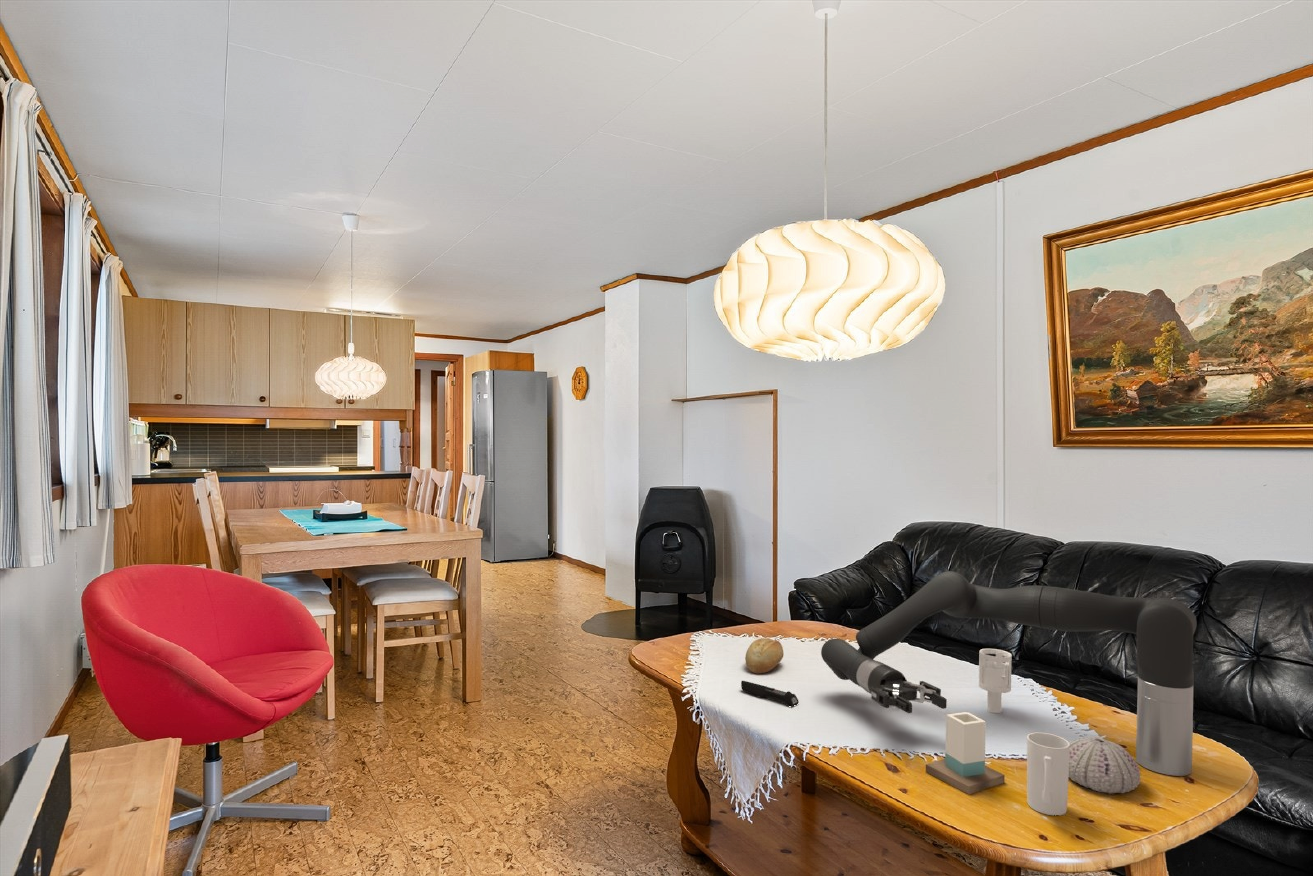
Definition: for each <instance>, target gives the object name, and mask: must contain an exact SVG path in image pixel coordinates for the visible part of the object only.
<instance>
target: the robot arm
mask: <svg viewBox="0 0 1313 876" xmlns="http://www.w3.org/2000/svg"><path fill="white" fill-rule="evenodd" d="M940 612H943V613H944V614H946V615H947V616H950V617H953V618H961V619H983V620H987V619H988V620H995V621H996V620H998V621H1001V622H1008V623H1012V624H1017V625H1023V626H1030V627H1035V628H1040V629H1046V630H1052V631H1053V630H1054V631H1058V632H1059V631H1061V632H1073V633H1074V632H1075V633H1076V632H1084V633H1085V632H1099V631H1100V632H1101V631H1104V632H1105V631H1106V632H1107V631H1113V632H1120V633H1121V632H1123V633H1128V634H1129V633H1130V634H1133V635H1136V665H1137V700H1136V701H1137V702H1136V703H1137V707H1136V708H1137V709H1136V737H1135V738H1136V740H1135V743H1136V745H1135V761H1136V763H1137V764H1138V765H1140V766H1141V767H1143V768H1145V769H1147V770H1149V771H1153V772H1155V773H1159V774H1162V775H1168V776H1175V777H1183V776H1189V775H1191V774H1192V767H1193V741H1194V740H1193V733H1194V732H1193V730H1194V720H1193V719H1194V717H1193V716H1194V715H1193V713H1194V682H1195V681H1194V678H1195V676H1194V675H1195V674H1194V665H1193V662H1194V659H1193V658H1194V634H1195V633H1196V629H1197V627H1198V626H1197V623H1198V622H1197V618H1196V615H1195V613H1194V612H1193V611H1192V610H1191V608H1190V607H1189V606H1188V605H1187V604H1185V603H1183V602H1182V601H1180V600H1177V599H1174V598H1167V597H1132V596H1131V597H1128V596H1127V597H1126V596H1116V595H1115V596H1114V595H1108V594H1102V593H1098V592H1092V591H1086V590H1079V589H1071V588H1067V587H1066V588H1065V587H1057V586H1048V585H1036V584H1035V585H1023V586H1017V587H1011V588H1009V587H1008V588H993V587H987V586H983V585H977V584H973V583H970V582H969V580H968V579H966V578H965V577H964V576H963V575H962V574H961V573H958V572H956V571H952V570H948V571H943V572H940V573H938V574H937V575H935V576H933V578H932V579H930V580H929V581H928V582H927V583H926V584H925V585H923V586H922V587H921V588H920V589H919V590H917V591H916V592H915V593H914V594H912V595H911V596H909V598H908V599H906V600H904V601H903V602H902V603H901V604H900V605H898V606H897V607H896V608H895V609H893V610H891V611H890V612H888V613H887V614H885V615H884V616H882V617H880V618H879V619H877V620H875V621H874V622H872V623H870V624H868V625H867V626H865V627H863V628H862V629H860V630H859V631H857V633H856V634H855V640H856V644H857V645H858V647H859V648H858V649H857V648H855V647H854V646H853V645H851V644H850V643H849V642H847V641H845V640H844V639H842V638H831V639H828V640H827V641H825V643H823V645H822V646H821V649H820V654H821V658H822V660H823V661H824V663H825V664H826V665H827V666H828V668H829V669H830V670H831V671H832V672H833V674H834V675H836V676H837V678H838V679H841V680H842V681H848V680H849V681H851V682H852V683H853V684H854V685H857V686H858V687H860V688H861V689H863V690H864V691H865V692H866V693H868V694H870V695H871V696H870V698H871V700H872V701H874V702H875V703H877V704H879V705H880V706H882V707H883V708H886V709H889V708H890V706H892V708H894V709H899V710H901V711H903V712H905V713H906V714H912V713H913V703H912V702H915V703H918V704H919V703H920V704H923V703H924V702H926V703H931V704H932V705H934V706H936V707H938V708H940V709H942V710H944V709H945V710H946V709H947V705H948V704H947V702H948V701H947V698H946V697H944V696H942V695H941V694H942V689H941V688H940V687H937V686H935V685H933V684H931V683H928V682H926V681H923V680H919V684H915V683H912V682H911V681H908V680H907V678H906V676H905V675H904V674H903V673H902V672H901V671H899V670H897V669H895V668H893V667H891V666H890V665H888V664H886V663H883V662H881V661H878V660H875V658H877V657H878V656H879V655H881V654H883V653H884V652H886V651H888V650H890V649H891V648H894V647H895V646H896V645H898V644H899V643H901V642H902V641H903V640H904V639H906V637H907V636H908V635H909V634H910V633H911V632H912V631H913V629H915V628H916V627H917V626H918V625H919V624H920V623H922V622H923V621H924V620H926V619H927V618H929V617H931V616H934V615H935V614H937V613H940ZM918 692H919V697H918Z"/></svg>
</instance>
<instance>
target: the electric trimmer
mask: <svg viewBox="0 0 1313 876" xmlns="http://www.w3.org/2000/svg"><path fill="white" fill-rule="evenodd" d="M740 686H741V687H740V688H741V691H743V692H745V693H746V692H747V693H748V694H750V695H753V696H755V697H758V698H761V699H769V700H772V701H775V702H779V703H782V704H784V703H785V704H784V705H787V706H794V705H796V706H798V705H799V704H798V703H800V702H799V699H798V697H797V696H796V694H795V693H792V692H791V691H789V690H788V691H784V690H779V689H776V688H773V687H770V686H769V687H768V686H767V685H766V686H765V685H761V684H758V683H755V682H750V681H747V680H741V682H740ZM797 704H798V705H797Z"/></svg>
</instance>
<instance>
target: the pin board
mask: <svg viewBox="0 0 1313 876" xmlns="http://www.w3.org/2000/svg"><path fill="white" fill-rule="evenodd" d="M925 773H927V774H929V775H931V776H933V777H935V778H936V779H939V781H942V782H944V783H946V784H948V785H949V786H952V787H954V789H955V788H956V789H957V790H959V791H961V792H963V793H965V794H968V795H971V794H974V793H977V792H980V791H984V790H987V789H989V788H992V787H995V786H998V785H1001V784H1004V783H1005V782H1006V781H1005V777H1006V776H1005V774H1004V773H1001V772H999V771H998V770H995V769H994V768H990V767H989V766H987V765H985V774H979V775H973V776H967V777H962V776H961V775H959V774H958V773H956V772H954V771H953V770H951V769H950V768H948V767H947V766H945V758H942V759H939V760H936V761H933V762H930V763H926V764H925Z"/></svg>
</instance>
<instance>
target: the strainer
mask: <svg viewBox="0 0 1313 876" xmlns="http://www.w3.org/2000/svg"><path fill="white" fill-rule="evenodd" d="M978 654H979V657H978V658H979V659H978V687H979V689H982V690H984V691H987V695H986V696H987V698H986V699H987V701H986V704H987V705H986V710H987V711H988V712H990V713H992V714H1001V713H1002V699H1003V698H1002V697H1003V696H1002V694H1006V693H1007V694H1008V693H1010V692H1011V691H1012V657H1013V655H1012V653H1011V652H1008V651H1005V650H1003V649H997V648H982V649H980V650H979V653H978ZM994 655H995V656H994Z"/></svg>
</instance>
